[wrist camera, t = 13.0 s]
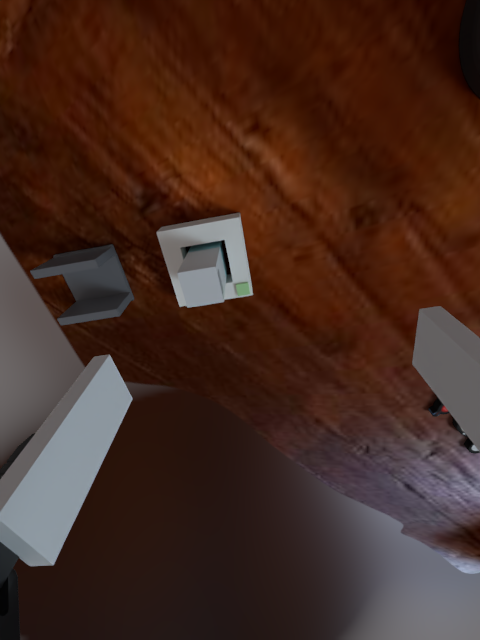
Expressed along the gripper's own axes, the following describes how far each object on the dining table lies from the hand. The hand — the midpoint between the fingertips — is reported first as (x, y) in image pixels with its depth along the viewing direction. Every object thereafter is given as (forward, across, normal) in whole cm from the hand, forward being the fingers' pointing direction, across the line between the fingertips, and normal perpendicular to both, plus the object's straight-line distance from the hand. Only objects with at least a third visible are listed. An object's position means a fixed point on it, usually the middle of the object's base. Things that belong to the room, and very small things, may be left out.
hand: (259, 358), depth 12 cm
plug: (+27, -6, -3) cm, 28 cm away
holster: (+27, -22, -3) cm, 35 cm away
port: (+27, -6, -3) cm, 28 cm away
